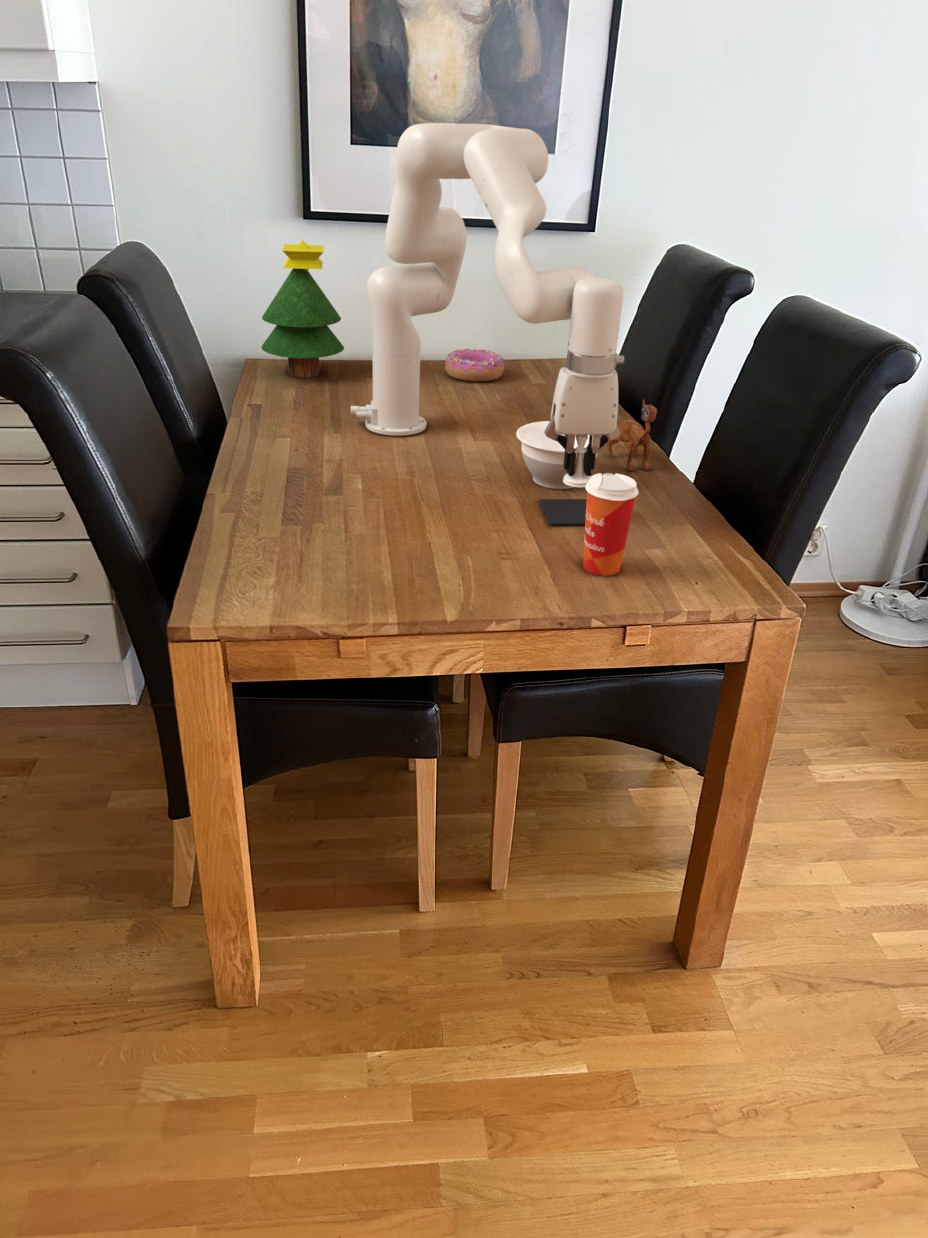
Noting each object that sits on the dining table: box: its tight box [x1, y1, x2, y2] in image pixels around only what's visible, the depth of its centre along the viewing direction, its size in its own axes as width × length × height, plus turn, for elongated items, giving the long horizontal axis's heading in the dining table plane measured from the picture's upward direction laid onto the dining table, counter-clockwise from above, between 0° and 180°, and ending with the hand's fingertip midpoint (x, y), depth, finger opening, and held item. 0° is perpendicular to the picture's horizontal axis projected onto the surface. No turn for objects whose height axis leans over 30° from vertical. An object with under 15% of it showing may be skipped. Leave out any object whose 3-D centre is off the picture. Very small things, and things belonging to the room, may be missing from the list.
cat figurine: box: [606, 398, 658, 472], centre depth 180 cm, size 18×7×14 cm, turn 15°
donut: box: [444, 348, 505, 383], centre depth 227 cm, size 14×14×5 cm
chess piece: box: [563, 435, 592, 488], centre depth 154 cm, size 5×5×10 cm
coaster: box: [539, 498, 587, 527], centre depth 159 cm, size 10×10×1 cm
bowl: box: [516, 420, 598, 490], centre depth 170 cm, size 16×16×8 cm
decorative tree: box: [261, 239, 345, 378], centre depth 216 cm, size 19×19×30 cm
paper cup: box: [582, 472, 639, 577], centre depth 138 cm, size 8×8×14 cm
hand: (578, 472), depth 155 cm, fingers closed on chess piece
